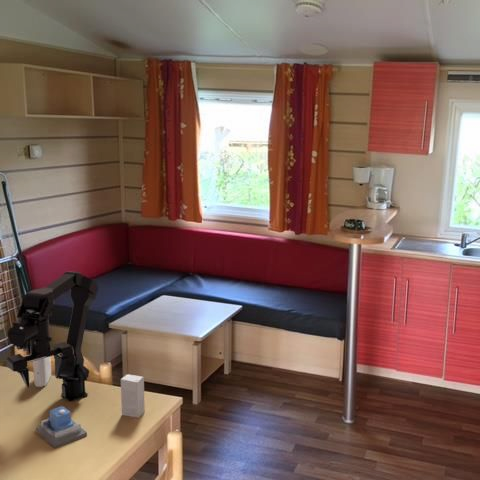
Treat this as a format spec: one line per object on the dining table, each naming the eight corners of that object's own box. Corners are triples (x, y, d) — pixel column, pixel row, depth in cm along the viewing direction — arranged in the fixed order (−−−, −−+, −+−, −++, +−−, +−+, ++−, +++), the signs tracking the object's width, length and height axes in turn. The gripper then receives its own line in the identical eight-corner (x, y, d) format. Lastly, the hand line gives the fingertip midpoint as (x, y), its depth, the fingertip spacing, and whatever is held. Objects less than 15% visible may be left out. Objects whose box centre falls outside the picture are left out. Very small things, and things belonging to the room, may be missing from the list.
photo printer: (46, 387, 202) (44, 353, 199) (33, 387, 201) (30, 353, 199) (52, 374, 212) (50, 341, 209) (40, 374, 211) (38, 341, 209)
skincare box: (145, 412, 186) (144, 376, 184) (138, 418, 182) (137, 382, 180) (128, 408, 188) (127, 373, 185) (121, 415, 184) (120, 379, 182)
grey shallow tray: (67, 419, 181) (67, 409, 180) (87, 435, 172) (86, 424, 172) (36, 431, 174) (35, 420, 174) (54, 448, 166) (53, 436, 165)
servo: (61, 422, 177) (60, 402, 176) (74, 433, 172) (73, 412, 170) (48, 427, 175) (47, 406, 173) (61, 438, 169) (59, 416, 168)
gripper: (56, 319, 187) (59, 365, 191) (-3, 333, 175) (0, 382, 178) (73, 329, 179) (75, 377, 183) (12, 344, 167) (16, 395, 170)
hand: (42, 382), depth 179 cm, fingers open, 9 cm apart
